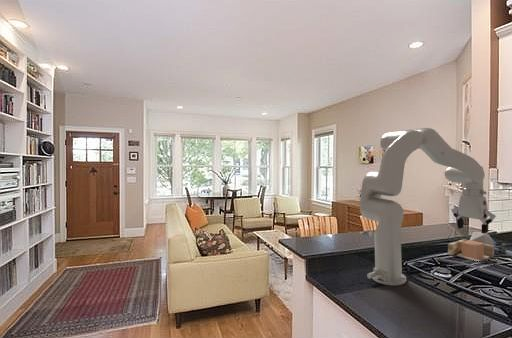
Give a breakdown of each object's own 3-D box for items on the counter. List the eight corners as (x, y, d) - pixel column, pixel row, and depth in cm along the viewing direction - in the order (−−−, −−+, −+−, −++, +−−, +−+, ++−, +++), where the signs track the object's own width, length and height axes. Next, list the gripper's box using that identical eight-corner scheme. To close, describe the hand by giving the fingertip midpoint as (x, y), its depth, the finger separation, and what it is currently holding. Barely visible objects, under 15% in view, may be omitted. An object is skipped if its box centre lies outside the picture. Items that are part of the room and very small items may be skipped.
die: (490, 248, 142) (475, 230, 146) (502, 244, 134) (486, 225, 138) (476, 256, 141) (461, 237, 145) (487, 253, 133) (471, 233, 137)
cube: (484, 256, 130) (484, 243, 130) (476, 259, 127) (476, 245, 127) (469, 252, 135) (469, 239, 135) (461, 255, 133) (461, 242, 132)
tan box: (477, 263, 124) (477, 251, 124) (448, 254, 135) (447, 243, 135) (494, 256, 130) (494, 245, 130) (464, 248, 141) (464, 238, 141)
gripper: (500, 194, 123) (499, 233, 124) (456, 190, 139) (456, 225, 140) (490, 196, 120) (489, 236, 121) (447, 191, 136) (447, 227, 137)
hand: (472, 230), depth 130 cm, fingers open, 9 cm apart
